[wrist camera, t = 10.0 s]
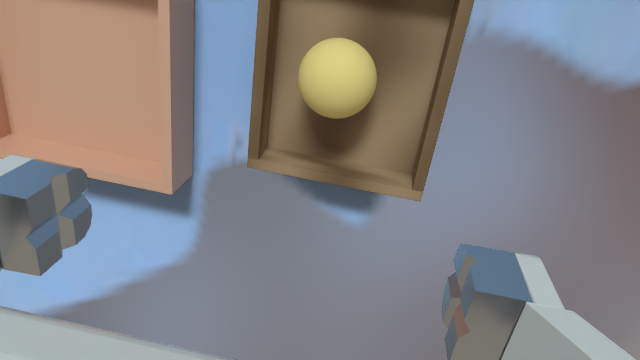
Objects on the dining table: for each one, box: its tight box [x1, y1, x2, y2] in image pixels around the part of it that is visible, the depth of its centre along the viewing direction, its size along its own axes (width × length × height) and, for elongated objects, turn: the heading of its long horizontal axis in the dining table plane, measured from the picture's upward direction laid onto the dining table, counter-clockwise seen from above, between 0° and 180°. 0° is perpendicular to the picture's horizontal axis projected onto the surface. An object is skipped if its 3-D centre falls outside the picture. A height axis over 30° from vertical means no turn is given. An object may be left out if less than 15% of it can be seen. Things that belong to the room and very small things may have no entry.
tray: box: [247, 0, 474, 201], centre depth 24 cm, size 10×12×3 cm
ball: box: [298, 38, 377, 119], centre depth 23 cm, size 4×4×4 cm
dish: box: [0, 0, 194, 195], centre depth 26 cm, size 13×13×3 cm
